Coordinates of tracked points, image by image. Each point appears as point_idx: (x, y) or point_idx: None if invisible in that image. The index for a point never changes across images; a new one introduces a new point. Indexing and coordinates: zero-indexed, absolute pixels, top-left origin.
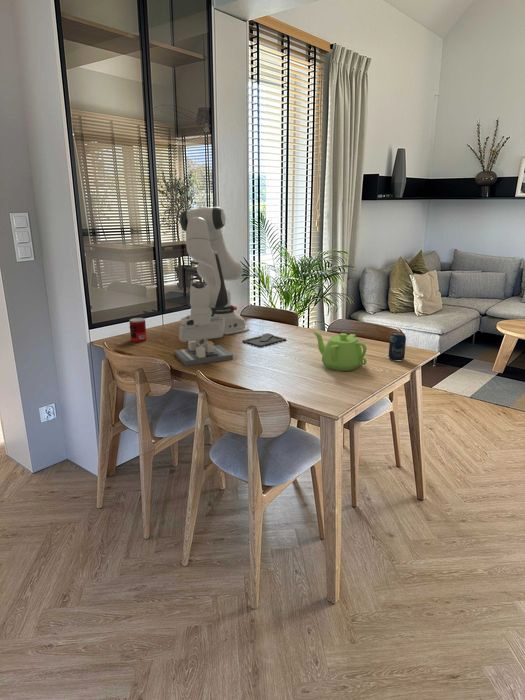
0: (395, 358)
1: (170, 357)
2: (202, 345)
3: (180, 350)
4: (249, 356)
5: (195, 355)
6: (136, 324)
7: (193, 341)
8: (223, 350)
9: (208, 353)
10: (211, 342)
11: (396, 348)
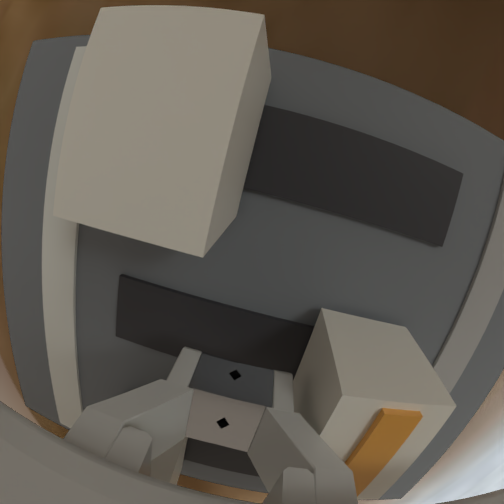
0: None
1: (6, 121)
2: (218, 442)
3: (71, 66)
4: (485, 462)
5: (125, 367)
6: None
7: (145, 164)
8: (466, 396)
9: None
10: (404, 460)
11: None
